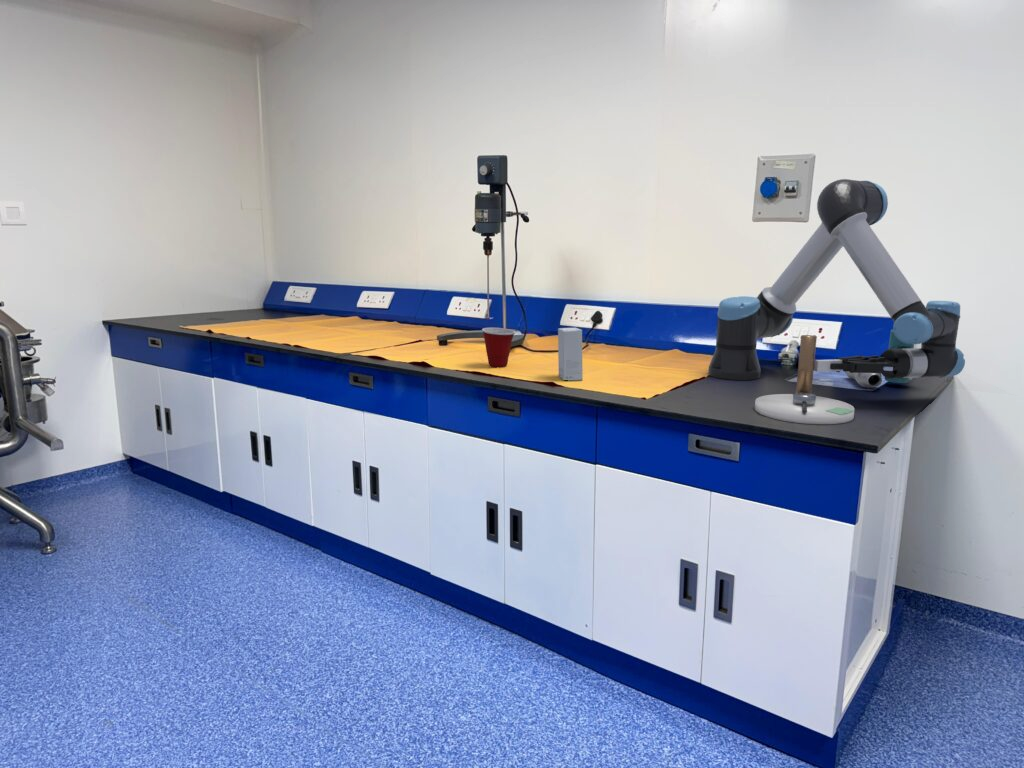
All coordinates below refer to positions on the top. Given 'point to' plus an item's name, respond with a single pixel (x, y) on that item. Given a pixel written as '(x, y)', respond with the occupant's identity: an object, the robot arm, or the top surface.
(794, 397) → the crank handle
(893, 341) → the beverage bottle
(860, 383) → the silver metal bottle
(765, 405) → the round white plate
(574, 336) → the skincare box
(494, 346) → the plastic cup
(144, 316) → the top surface
